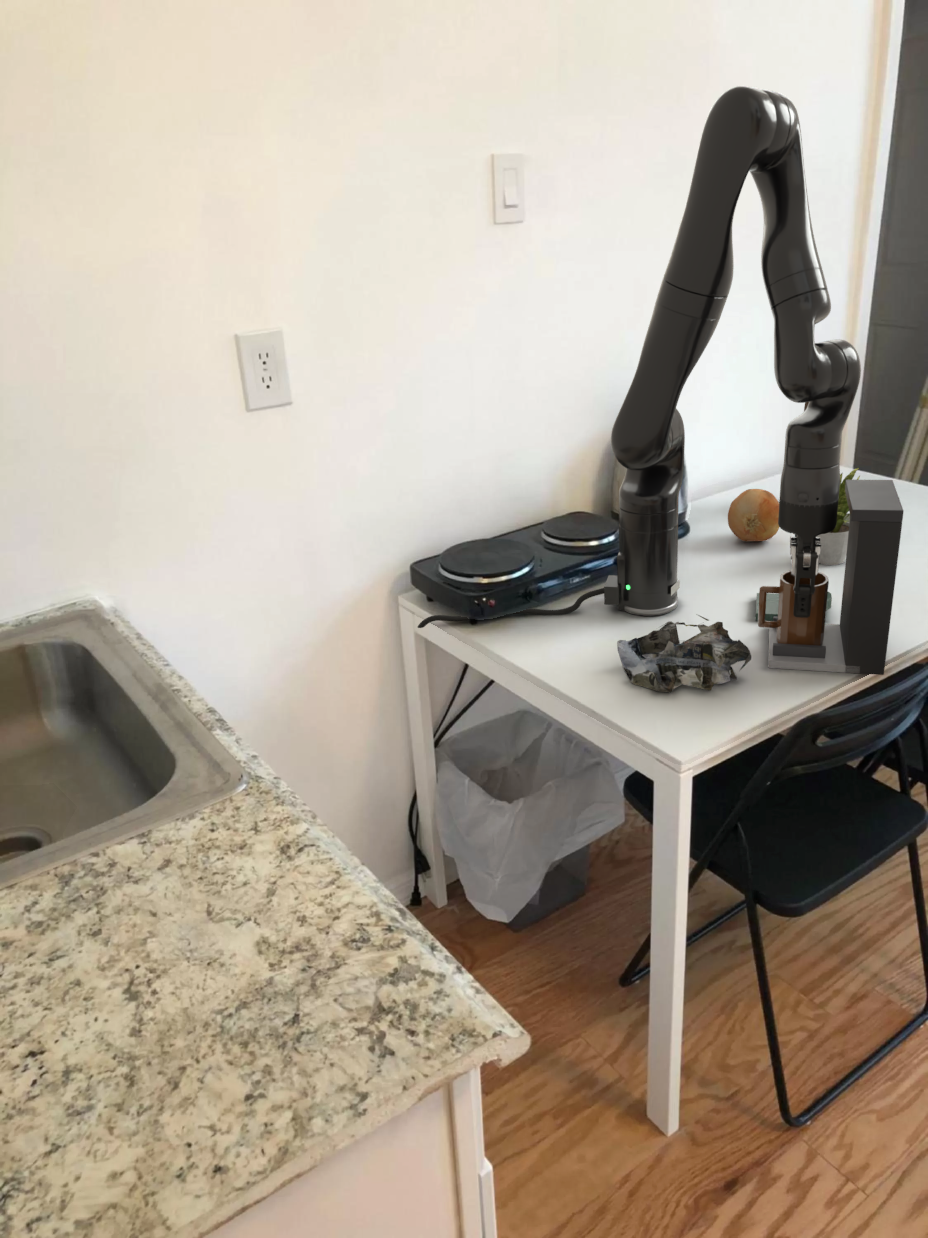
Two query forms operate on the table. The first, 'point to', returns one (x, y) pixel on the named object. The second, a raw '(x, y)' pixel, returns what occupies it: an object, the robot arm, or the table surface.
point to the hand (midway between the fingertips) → (800, 604)
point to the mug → (787, 623)
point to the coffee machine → (857, 589)
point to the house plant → (837, 530)
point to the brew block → (773, 605)
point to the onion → (754, 515)
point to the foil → (682, 658)
